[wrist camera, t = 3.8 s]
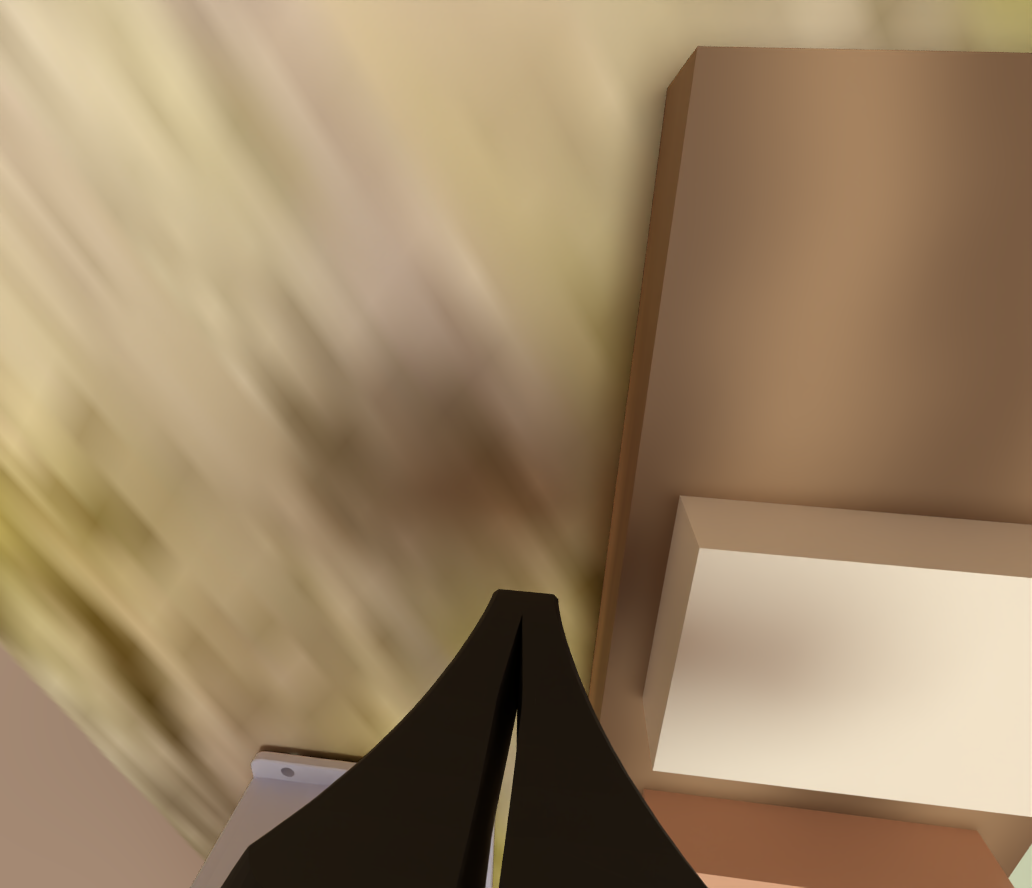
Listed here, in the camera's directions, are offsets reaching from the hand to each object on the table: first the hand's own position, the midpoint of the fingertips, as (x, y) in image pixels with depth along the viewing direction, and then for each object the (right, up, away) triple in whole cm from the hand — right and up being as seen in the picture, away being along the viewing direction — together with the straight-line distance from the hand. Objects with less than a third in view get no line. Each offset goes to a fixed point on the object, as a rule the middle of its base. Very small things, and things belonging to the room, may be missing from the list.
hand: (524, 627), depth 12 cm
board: (+8, 0, +4) cm, 9 cm away
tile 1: (+8, 0, +1) cm, 8 cm away
